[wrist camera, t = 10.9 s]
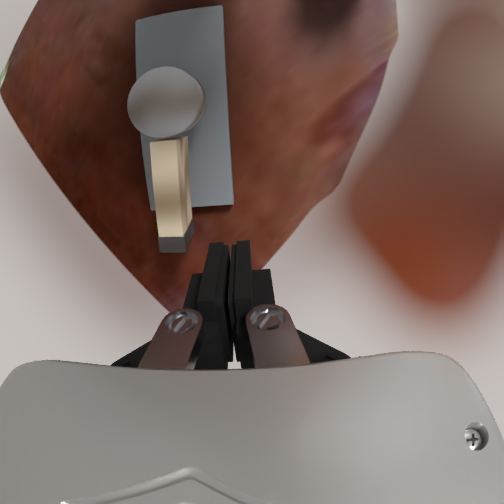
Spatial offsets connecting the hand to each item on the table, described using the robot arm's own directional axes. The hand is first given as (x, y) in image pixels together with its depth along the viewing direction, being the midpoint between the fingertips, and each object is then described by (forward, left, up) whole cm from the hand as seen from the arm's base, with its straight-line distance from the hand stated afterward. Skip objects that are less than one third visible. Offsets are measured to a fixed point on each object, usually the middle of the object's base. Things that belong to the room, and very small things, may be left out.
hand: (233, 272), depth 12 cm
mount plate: (-9, -6, -22) cm, 25 cm away
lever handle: (-3, -6, -19) cm, 20 cm away
